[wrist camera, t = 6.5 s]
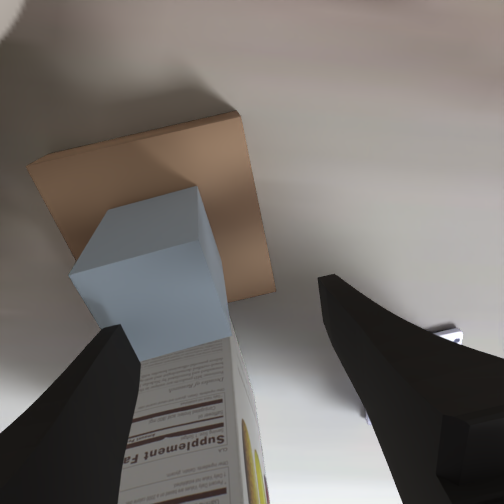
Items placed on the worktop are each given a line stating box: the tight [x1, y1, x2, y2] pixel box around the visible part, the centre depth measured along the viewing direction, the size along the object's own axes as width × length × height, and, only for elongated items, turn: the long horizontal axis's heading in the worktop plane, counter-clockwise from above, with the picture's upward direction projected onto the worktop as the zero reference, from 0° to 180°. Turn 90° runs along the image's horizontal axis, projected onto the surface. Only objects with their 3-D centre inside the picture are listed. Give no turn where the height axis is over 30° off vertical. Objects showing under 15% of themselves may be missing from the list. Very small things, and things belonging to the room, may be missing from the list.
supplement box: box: [118, 316, 270, 504], centre depth 18 cm, size 10×9×17 cm
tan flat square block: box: [26, 111, 276, 303], centre depth 19 cm, size 10×10×3 cm
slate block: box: [68, 186, 232, 361], centre depth 15 cm, size 4×4×6 cm
